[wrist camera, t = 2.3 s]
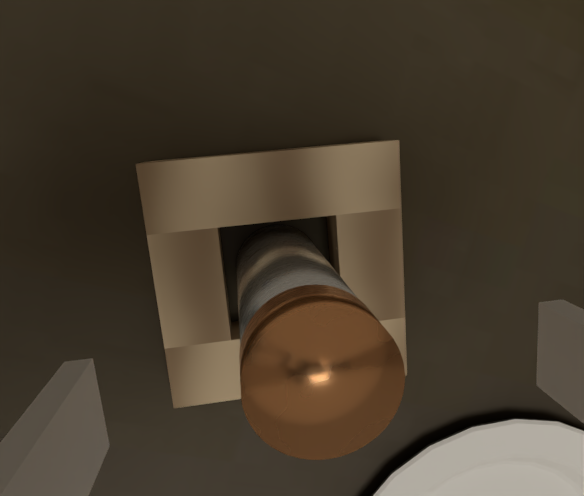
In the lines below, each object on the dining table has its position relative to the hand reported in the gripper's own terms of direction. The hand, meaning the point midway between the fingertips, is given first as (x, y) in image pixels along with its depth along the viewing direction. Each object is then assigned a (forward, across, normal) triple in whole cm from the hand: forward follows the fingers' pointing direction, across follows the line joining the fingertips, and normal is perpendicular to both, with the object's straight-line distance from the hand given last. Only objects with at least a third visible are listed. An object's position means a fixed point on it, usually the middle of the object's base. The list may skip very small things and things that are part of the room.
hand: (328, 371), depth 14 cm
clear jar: (+12, 0, 0) cm, 12 cm away
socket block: (+12, 0, 0) cm, 12 cm away
